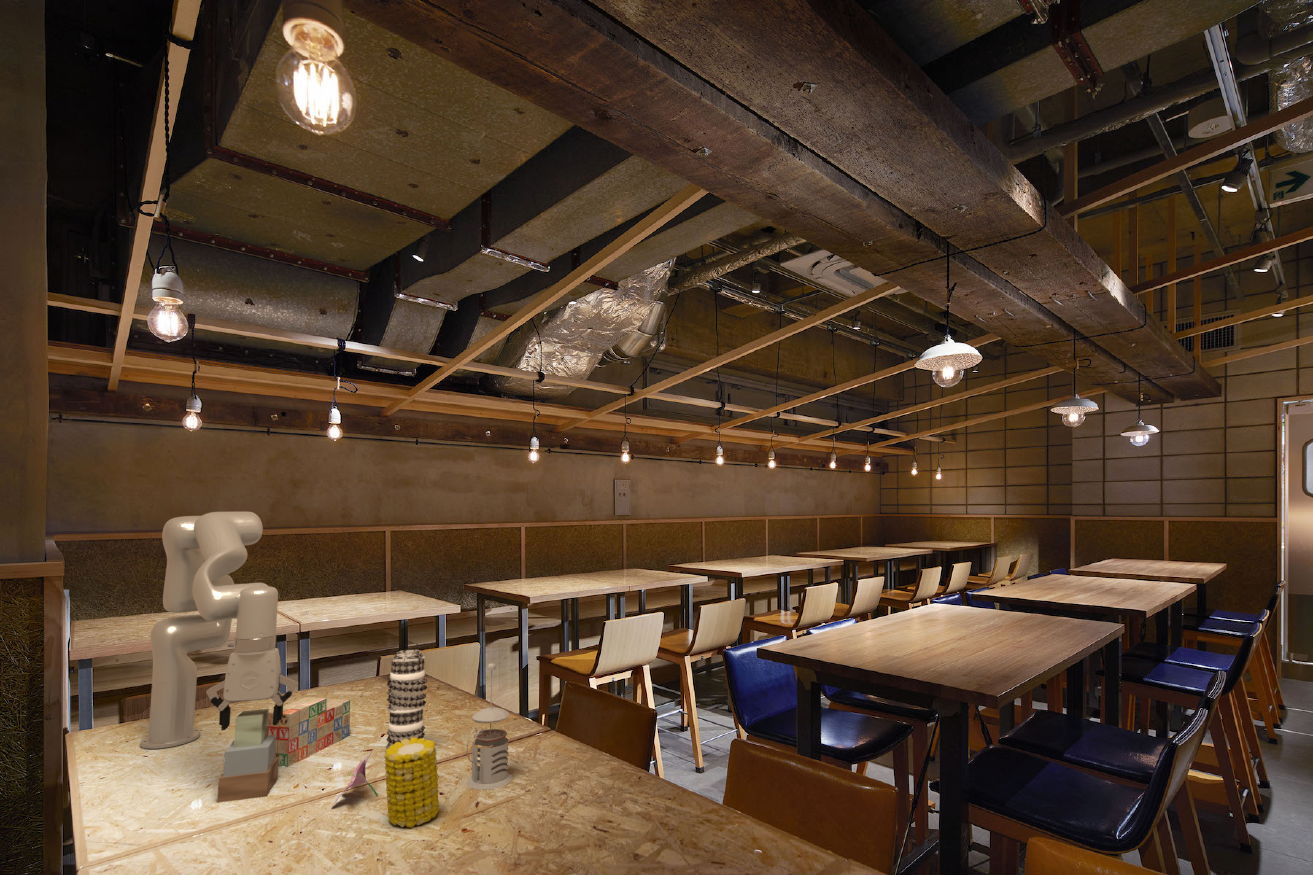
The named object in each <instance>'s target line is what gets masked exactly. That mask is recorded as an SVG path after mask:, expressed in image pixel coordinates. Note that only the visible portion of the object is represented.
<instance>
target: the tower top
mask: <svg viewBox="0 0 1313 875" xmlns="http://www.w3.org/2000/svg"><path fill="white" fill-rule="evenodd" d="M275 749H276V735H269V736H267V738H266V739H265V740H264V742H263V743H262V744H261V745H254V746H244V747H234V740H232V742H231V743H230V744H229V746H228V747H227V748H226V750H224V756H223V770H222V771H223V772H222V774H223V777H230V776H238V775H246V774H253V773H261V772H267V771H268V770H269V768H270V766H271V764H272V763H273V761H274V759H275Z"/></svg>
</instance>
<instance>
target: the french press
mask: <svg viewBox="0 0 1313 875" xmlns="http://www.w3.org/2000/svg"><path fill="white" fill-rule="evenodd" d="M486 669H487V670H489V671H490V670H491V671H490V707H485V708H482V709H481V710H479V711H477V712H476V713H474V714H473V715H472V716H471V719H472V721H474V722H475V723H478V724H490V725H489V728H488V729H483V728H479V730H477V727H473V729H472V730H471V731H470V734H469V736H468V738H467V744H466V756H467V759H468V761H469V762H471V775H470V777H469V778H468V779H467V781H466V785H467V786H468V788H469V787H470V788H471V789H474V790H480V791H486V790H494V789H495V790H496V789H499V788H502V787H505V786H506V785H509V783H511V782H512V780H513V776H512V775H511V773H509V770H508V769H509V764H508V763H509V758H508V757H509V752H508V751H509V738H507V734H508V733H507V731H505V730H504V729H498V728H492V723H499V722H502V721H505V720H506V719H507V718H509V716H510V712H509V711H507V710H506V709H503V708H500V707H495V706H492V703H493V702H492V701H493V700H492V699H493V697H492V696H493V691H492V690H493V670H496V669H497V664H495V663H489V664H488V665H487V668H486ZM474 730H475V734H474V735H473V738H474V740H473V741H472V747H471V748H472V751H471V754H472V755H471V759H470V755H469V741H470V738H471V735H472V734H473V731H474ZM478 746H481V747H478ZM491 746H492V747H491ZM478 752H479V753H478ZM478 758H480V759H478Z"/></svg>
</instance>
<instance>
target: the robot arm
mask: <svg viewBox="0 0 1313 875" xmlns="http://www.w3.org/2000/svg"><path fill="white" fill-rule="evenodd" d="M263 530H264V527H263V523H262V520H261V518H260V517H259V515H258V514H256V513H255V512H252V511H245V510H244V511H213V512H208V513H205V514H202V515H185V516H178V517H173V518H170V519H169V520H168V521H166V522H165V524H164V525H163V528H162V533H161V537H162V538H161V539H162V544H163V549H164V551H165V555H166V569H165V578H164V586H163V595H162V604H163V605H162V606H163V608H164V610H165V611H167V612H169V613H173V614H177V613H179V614H181V613H191V612H198V613H197V614H196V613H195V614H186V615H179V616H172V617H167V618H164V619H161V620H159V621H158V622H157V623H155V624H154V625H153V627H152V629H151V632H150V643H151V645H150V646H151V652H152V653H151V654H152V675H151V676H152V678H151V691H150V692H151V693H150V694H151V695H150V709H149V720H148V721H149V723H148V735H146V736H145V737H143V738H142V739H141V740H140V743H139V746H140V747H141V748H143V749H147V750H148V749H149V750H151V749H154V750H155V749H156V750H157V749H166V748H172V747H177V746H181V745H184V744H187V743H190V742H194V741H195V740H197V739H198V738H200V736H201V733H202V732H201V729H199V728H195V711H196V699H197V698H196V696H197V680H198V668H197V665H196V663H195V662H194V661H193V660H192V659H191V658H190V657H189V656H188V653H192V652H194V651H195V652H196V651H202V650H208V649H215V648H219V647H222V646H224V645H225V644H226V643H227V648H233V652H231V653H229V658H228V661H227V666H226V671H225V676H224V677H225V679H224V680H222V681H221V682H219V683H217V684H215V685H213V686H211V687H209V688H208V689H207V690H206V692H205V693H206V695H207V697H208V698H209V700H210V704H212V705H213V706H214V707H215V708H216V709H217V710H218V712H219V722H218V725H219V726H221V727H220V728H221V731H225V730H227V728H228V727H230V723H231V710H232V709H231V707H230V704H231V703H237V702H238V703H239V702H240V703H241V702H251V701H252V702H253V701H262V700H270V699H271V700H272V701H273V702H274V704H275V705H274V706H273V710H272V711H273V725H277V724H278V723H279V721H280V720H281V719H282V717H283V707H284V703H286V701H288V700H289V699H290V697H291V696H292V695H293V694H294V693H295V690H296V689H297V688H298V685H299V682H298V680H294V679H292V678H290V677H288V676H285V675H283V674H282V670H281V669H282V668H281V657H280V651H279V648H277V647H276V640H277V639H276V638H277V622H278V620H277V618H278V606H279V605H278V602H279V601H278V600H279V591H278V589H277V588H276V587H274V586H269V585H268V584H266V583H264V582H250V583H235V582H234V580H233V578H232V577H231V576H230V575H229V574H231V573H234V572H235V571H237V570H239V569H240V568H242V566H243V565H244V564H245V563H246V561H247V559H248V550H247V549H246V547H245V546H251V545H254V544H256V543H258V542H259V540H261V538H262V536H263V535H262V534H263ZM233 619H236V631H235V638H234V639H233V640H229V638H230V635H231V629H232V622H233ZM281 685H284V686H287V687H288V688H287V691H286V692H285V693H284V694H282V693H281V691H280V690H281V687H282V686H281ZM222 689H223V694H222V697H223V699H222V698H221V697H220V696H219V695H218V691H220V690H222Z"/></svg>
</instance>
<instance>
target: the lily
mask: <svg viewBox="0 0 1313 875" xmlns="http://www.w3.org/2000/svg"><path fill="white" fill-rule="evenodd" d="M374 750H375V748H373V749H372V750H371V751H370V752H368V753H367V754H366V756H365V757H364V760H363V759H361V760H360V761H359V762H358V764H357V766H356V767H355V768H354V770H352V772H350V771H349V772H348V774H346V776H351V777H350V782H349V783H348V785H347V786H346V788H345V789H344V790H342V792H340V794H339V795H338V797H337V798H336V799H335V801H334V803H333V805H332V806H331V808H330V809H333V807H334V806H335V804H336V802H337V801H338V799H339V798H340V797H341V795H344V793H346V791H348V790H350V789H353V788H355V787H358V786H361V785H363V784H366V785H368V787H369V788H370V789H372V791H373V793H374V794H375V795H376V797H379V795H378V793H377V792H376V790H375V788H374V787H373V786H372V785H371V784H370V783H369V782H368V781H367V776H366V775H367V774H366V768H367V767H366V766H367V762H368V760H369V758H370V756H371V755H372V754H373V751H374Z"/></svg>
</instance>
